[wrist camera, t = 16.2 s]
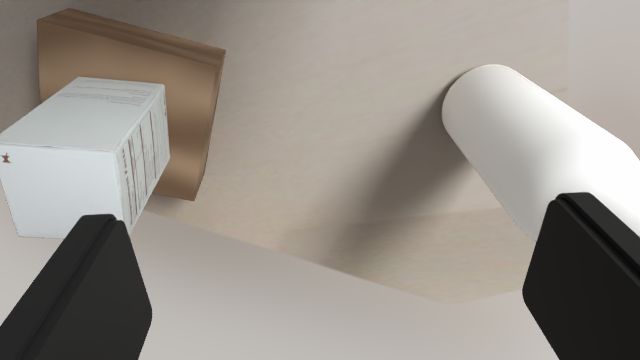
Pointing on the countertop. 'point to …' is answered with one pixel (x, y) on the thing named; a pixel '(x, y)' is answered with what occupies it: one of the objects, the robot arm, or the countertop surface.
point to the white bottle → (537, 148)
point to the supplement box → (85, 155)
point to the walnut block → (140, 66)
